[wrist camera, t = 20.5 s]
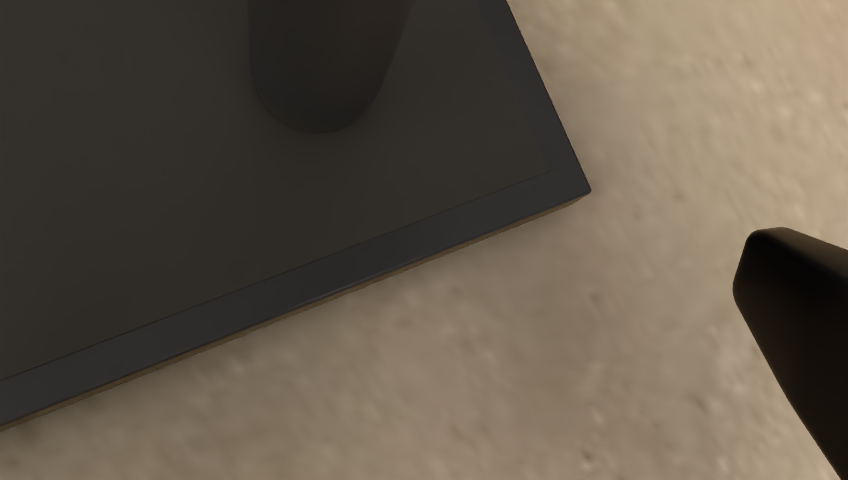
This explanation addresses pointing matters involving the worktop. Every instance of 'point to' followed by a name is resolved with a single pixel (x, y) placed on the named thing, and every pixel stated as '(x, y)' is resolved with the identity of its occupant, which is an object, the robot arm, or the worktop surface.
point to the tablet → (236, 180)
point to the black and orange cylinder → (322, 57)
